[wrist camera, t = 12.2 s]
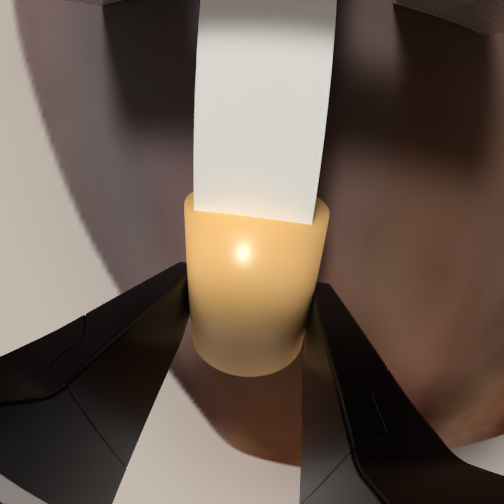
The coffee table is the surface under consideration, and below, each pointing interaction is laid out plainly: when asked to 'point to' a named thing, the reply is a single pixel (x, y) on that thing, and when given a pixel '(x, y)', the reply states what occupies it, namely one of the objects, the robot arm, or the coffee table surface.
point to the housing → (437, 12)
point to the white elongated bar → (257, 179)
